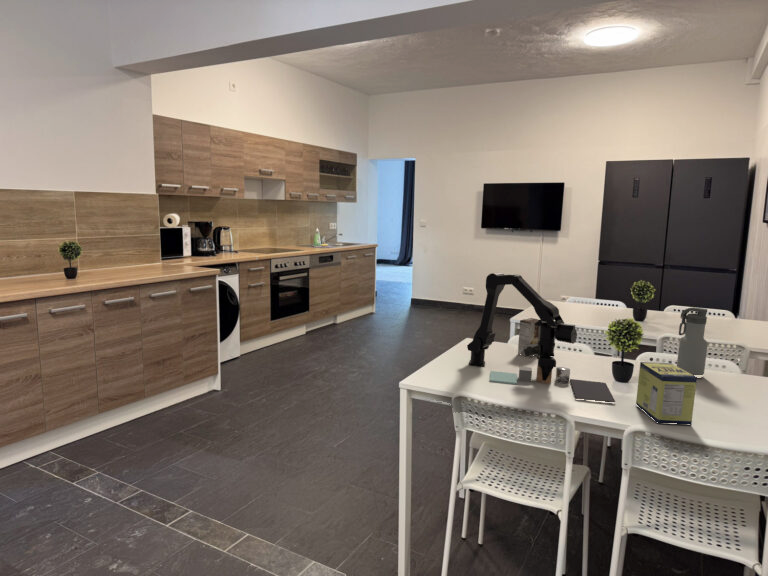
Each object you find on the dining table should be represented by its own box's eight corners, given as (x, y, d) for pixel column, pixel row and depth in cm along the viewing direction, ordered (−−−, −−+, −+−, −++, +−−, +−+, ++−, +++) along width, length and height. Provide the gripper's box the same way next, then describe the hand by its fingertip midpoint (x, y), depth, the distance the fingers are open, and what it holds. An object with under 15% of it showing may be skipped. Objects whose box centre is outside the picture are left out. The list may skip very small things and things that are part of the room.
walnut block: (536, 378, 196) (537, 363, 195) (549, 379, 195) (551, 364, 194) (537, 382, 191) (538, 366, 190) (550, 383, 190) (552, 368, 189)
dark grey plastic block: (518, 377, 196) (519, 366, 196) (530, 378, 195) (531, 367, 195) (518, 381, 192) (519, 369, 192) (531, 382, 191) (531, 371, 190)
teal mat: (490, 372, 202) (490, 370, 202) (516, 374, 199) (516, 373, 199) (489, 381, 190) (489, 380, 190) (517, 384, 188) (517, 382, 188)
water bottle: (671, 374, 207) (678, 307, 203) (679, 370, 213) (687, 305, 209) (698, 380, 199) (707, 311, 196) (706, 376, 206) (715, 309, 202)
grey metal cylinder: (554, 378, 196) (555, 366, 196) (568, 380, 195) (569, 367, 195) (555, 382, 192) (557, 369, 191) (569, 384, 190) (570, 371, 190)
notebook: (569, 382, 194) (575, 401, 173) (570, 378, 193) (576, 397, 173) (605, 386, 190) (615, 406, 170) (605, 382, 190) (615, 401, 170)
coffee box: (528, 351, 236) (531, 317, 234) (540, 354, 231) (543, 320, 229) (516, 354, 230) (519, 319, 228) (529, 357, 225) (531, 322, 223)
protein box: (666, 407, 169) (671, 362, 167) (692, 426, 154) (698, 377, 152) (634, 405, 170) (639, 361, 168) (657, 424, 154) (663, 375, 152)
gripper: (524, 331, 202) (521, 369, 204) (525, 342, 184) (522, 383, 186) (553, 333, 199) (550, 372, 201) (557, 345, 181) (554, 386, 183)
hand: (543, 378), depth 193 cm, fingers closed on walnut block, 5 cm apart
